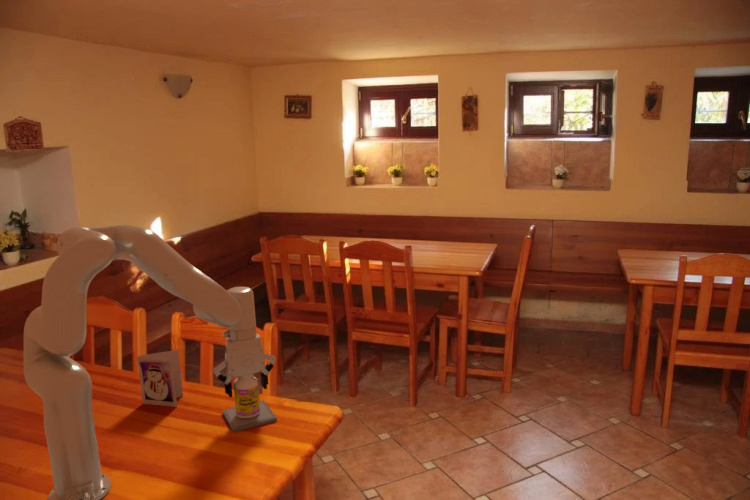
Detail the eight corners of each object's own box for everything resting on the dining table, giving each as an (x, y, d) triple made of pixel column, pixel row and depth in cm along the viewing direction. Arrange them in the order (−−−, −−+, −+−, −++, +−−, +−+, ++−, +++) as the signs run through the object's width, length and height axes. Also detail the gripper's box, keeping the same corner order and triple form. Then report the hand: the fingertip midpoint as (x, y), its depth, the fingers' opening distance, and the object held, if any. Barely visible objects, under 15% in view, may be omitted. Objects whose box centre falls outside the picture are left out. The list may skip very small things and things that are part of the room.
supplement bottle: (236, 421, 161) (232, 377, 159) (235, 410, 168) (231, 367, 165) (261, 417, 163) (258, 373, 160) (259, 406, 169) (256, 364, 167)
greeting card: (141, 405, 175) (135, 357, 172) (155, 393, 182) (150, 347, 179) (175, 408, 172) (170, 359, 169) (189, 396, 179) (184, 350, 176)
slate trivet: (276, 420, 163) (276, 417, 163) (233, 432, 158) (233, 428, 158) (263, 403, 174) (263, 399, 173) (222, 413, 168) (222, 410, 168)
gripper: (213, 343, 153) (219, 404, 157) (277, 330, 161) (281, 389, 165) (206, 334, 160) (212, 393, 163) (269, 322, 167) (273, 379, 171)
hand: (247, 391), depth 164 cm, fingers open, 9 cm apart
